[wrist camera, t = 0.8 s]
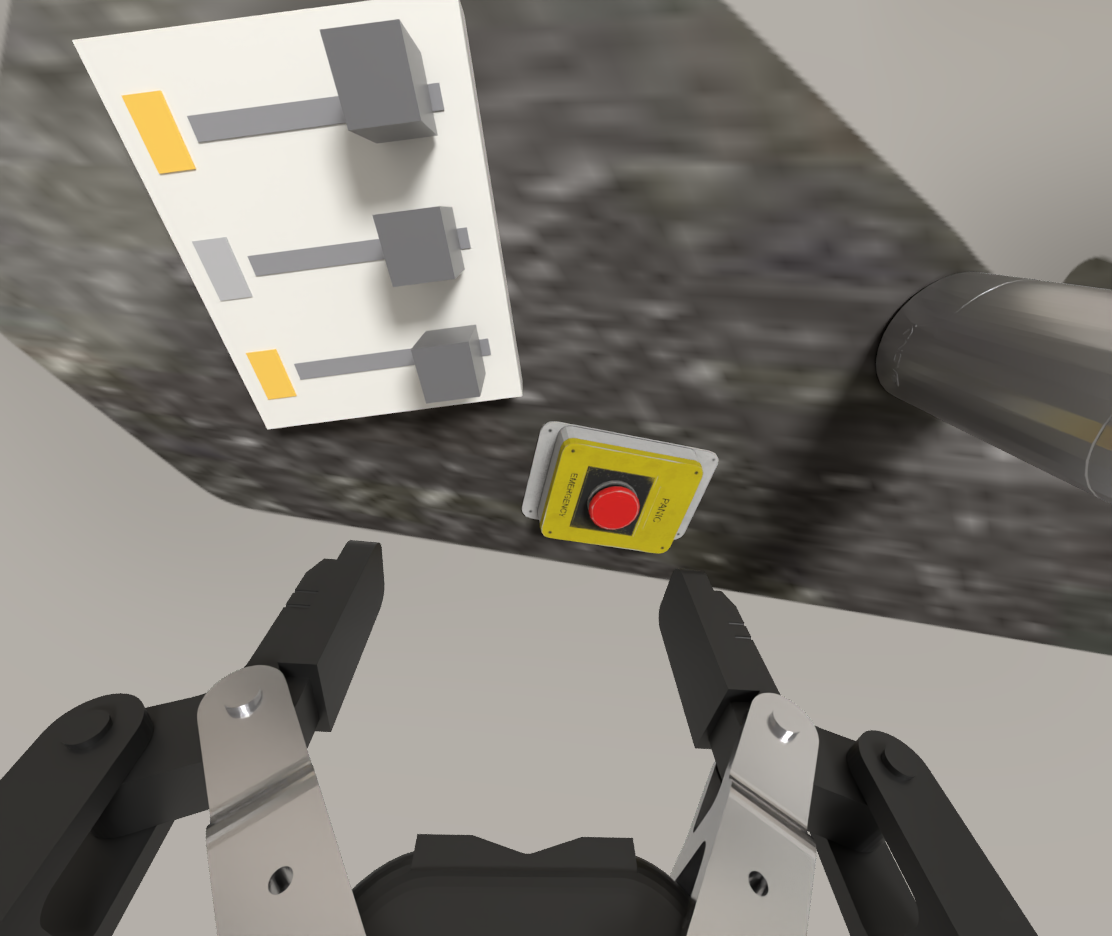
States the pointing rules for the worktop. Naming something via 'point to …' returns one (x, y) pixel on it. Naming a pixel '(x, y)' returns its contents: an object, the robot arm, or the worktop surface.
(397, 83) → the switch
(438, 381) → the switch
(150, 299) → the worktop surface
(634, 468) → the emergency button
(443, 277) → the switch
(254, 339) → the switch panel
